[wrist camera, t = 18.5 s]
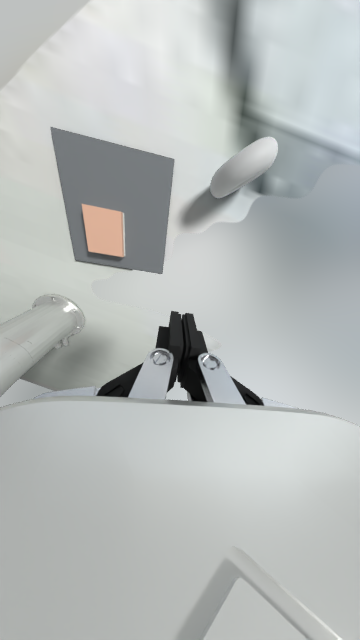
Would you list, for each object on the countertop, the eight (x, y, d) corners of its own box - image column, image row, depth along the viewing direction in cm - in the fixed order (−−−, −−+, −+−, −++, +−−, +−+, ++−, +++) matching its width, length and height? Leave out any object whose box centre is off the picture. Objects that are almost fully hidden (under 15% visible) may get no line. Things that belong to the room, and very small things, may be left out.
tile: (122, 257, 31) (88, 251, 30) (125, 256, 32) (93, 250, 31) (120, 211, 27) (81, 203, 26) (124, 213, 28) (87, 205, 28)
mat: (162, 273, 35) (162, 274, 35) (76, 259, 33) (75, 259, 32) (174, 160, 25) (174, 159, 25) (53, 129, 23) (50, 126, 22)
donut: (254, 155, 25) (295, 112, 17) (257, 179, 27) (296, 151, 18) (202, 186, 27) (215, 162, 19) (208, 207, 29) (223, 193, 20)
